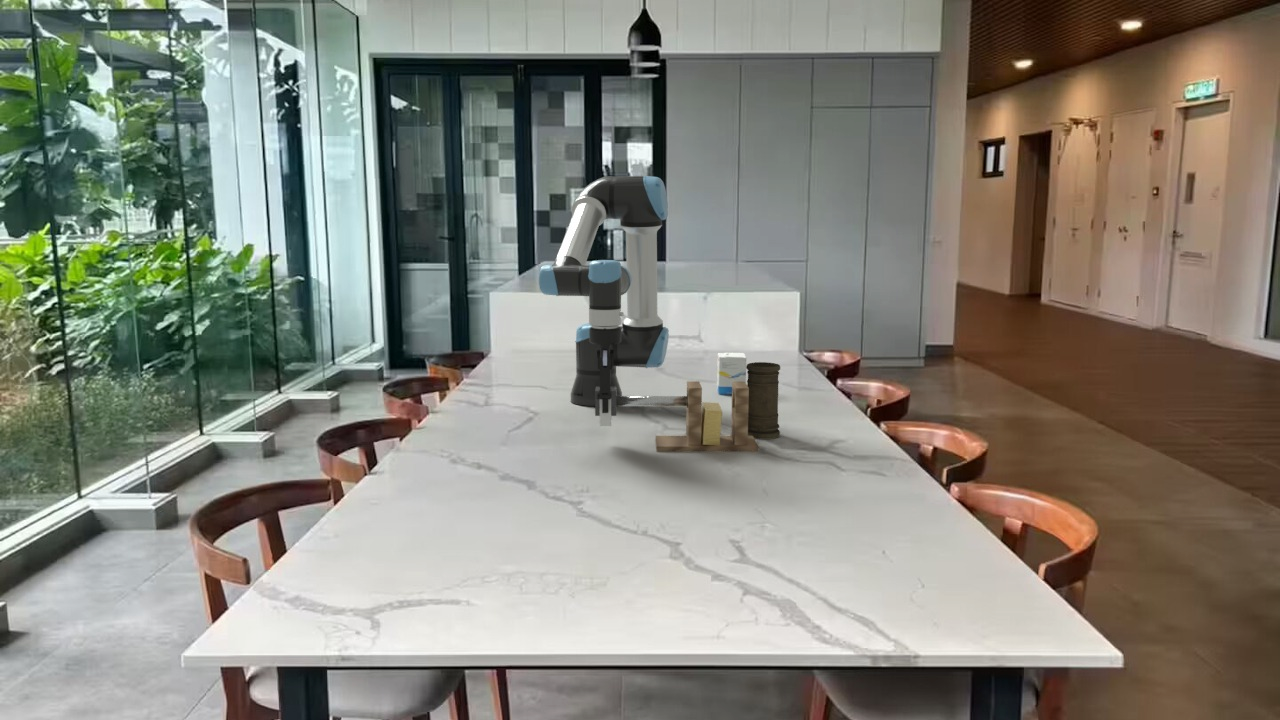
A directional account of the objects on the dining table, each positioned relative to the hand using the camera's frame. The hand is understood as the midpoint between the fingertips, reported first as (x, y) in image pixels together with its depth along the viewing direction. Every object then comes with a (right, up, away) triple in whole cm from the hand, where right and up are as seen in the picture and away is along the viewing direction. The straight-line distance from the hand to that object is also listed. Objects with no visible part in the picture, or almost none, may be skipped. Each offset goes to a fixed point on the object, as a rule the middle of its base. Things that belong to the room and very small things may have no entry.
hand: (605, 422), depth 221 cm
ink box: (+36, +5, +63) cm, 73 cm away
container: (+39, -4, +12) cm, 41 cm away
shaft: (+10, +2, 0) cm, 10 cm away
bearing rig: (+24, -6, +1) cm, 25 cm away
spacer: (+25, -4, +1) cm, 25 cm away
